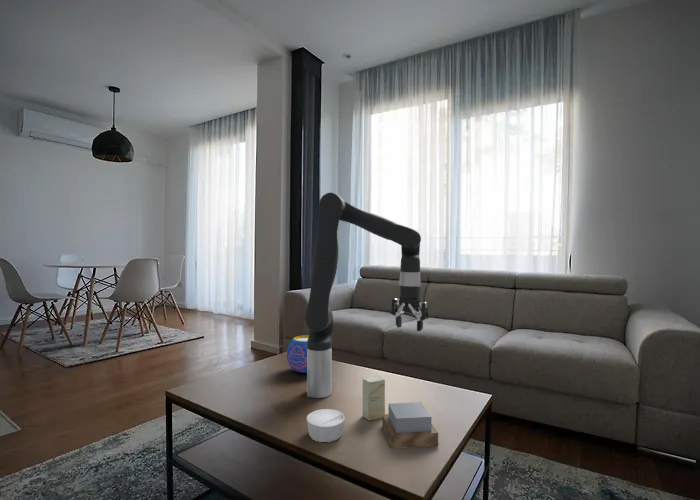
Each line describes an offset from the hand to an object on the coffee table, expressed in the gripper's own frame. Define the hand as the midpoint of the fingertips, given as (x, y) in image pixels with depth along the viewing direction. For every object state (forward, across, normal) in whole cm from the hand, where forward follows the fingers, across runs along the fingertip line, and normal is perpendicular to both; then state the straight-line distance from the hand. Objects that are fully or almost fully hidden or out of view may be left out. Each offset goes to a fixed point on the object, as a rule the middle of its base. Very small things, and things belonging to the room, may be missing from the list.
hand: (409, 329), depth 132 cm
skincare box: (+26, -1, -19) cm, 32 cm away
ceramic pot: (+26, -50, -4) cm, 57 cm away
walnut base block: (+26, +14, -22) cm, 37 cm away
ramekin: (+26, -4, -38) cm, 46 cm away
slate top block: (+22, +14, -22) cm, 34 cm away
